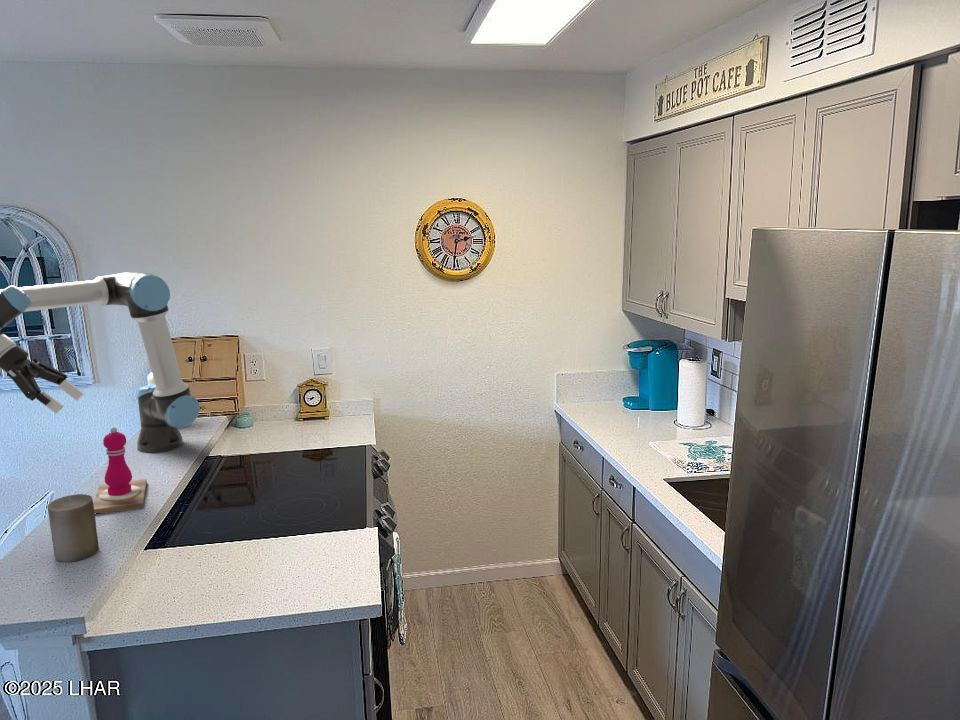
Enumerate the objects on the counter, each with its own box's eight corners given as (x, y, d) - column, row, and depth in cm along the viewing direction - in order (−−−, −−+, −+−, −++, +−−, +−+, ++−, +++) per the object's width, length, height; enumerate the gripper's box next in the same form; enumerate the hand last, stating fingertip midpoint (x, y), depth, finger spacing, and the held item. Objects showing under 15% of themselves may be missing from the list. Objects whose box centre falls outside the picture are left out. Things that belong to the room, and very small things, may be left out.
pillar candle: (101, 541, 176) (95, 486, 173) (96, 558, 167) (88, 501, 164) (58, 548, 172) (50, 492, 169) (50, 565, 163) (41, 507, 160)
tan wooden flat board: (100, 489, 210) (99, 483, 209) (146, 483, 214) (146, 477, 214) (91, 514, 191) (90, 508, 191) (142, 507, 196) (142, 501, 196)
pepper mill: (121, 497, 198) (115, 432, 195) (100, 495, 200) (93, 430, 196) (138, 488, 205) (132, 424, 201) (117, 486, 207) (111, 423, 203)
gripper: (20, 354, 204) (80, 401, 209) (-28, 373, 180) (41, 425, 185) (36, 336, 204) (96, 383, 209) (-9, 353, 180) (59, 406, 185)
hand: (70, 403), depth 197 cm, fingers open, 13 cm apart
